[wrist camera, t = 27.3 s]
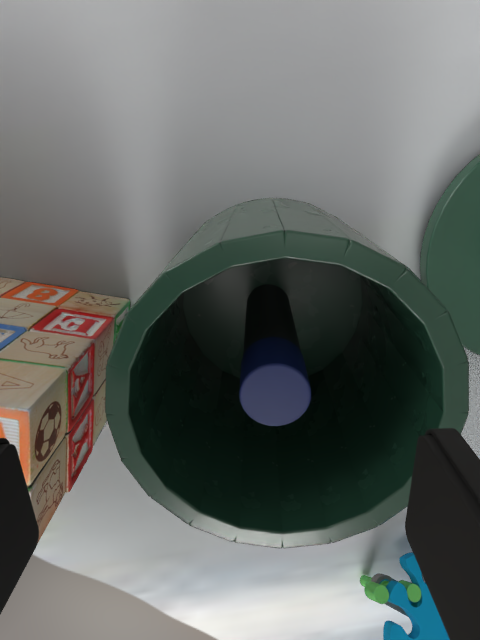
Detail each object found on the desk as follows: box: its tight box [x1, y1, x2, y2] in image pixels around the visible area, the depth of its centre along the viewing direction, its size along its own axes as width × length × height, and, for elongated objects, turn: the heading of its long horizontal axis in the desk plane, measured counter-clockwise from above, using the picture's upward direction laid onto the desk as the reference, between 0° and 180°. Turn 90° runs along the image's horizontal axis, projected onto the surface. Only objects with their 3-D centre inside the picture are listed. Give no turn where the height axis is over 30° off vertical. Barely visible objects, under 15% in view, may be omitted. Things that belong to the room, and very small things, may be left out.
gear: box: [360, 553, 450, 640], centre depth 30 cm, size 11×6×10 cm
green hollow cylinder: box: [105, 198, 469, 548], centre depth 19 cm, size 12×12×12 cm
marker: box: [239, 284, 311, 426], centre depth 19 cm, size 2×2×10 cm
